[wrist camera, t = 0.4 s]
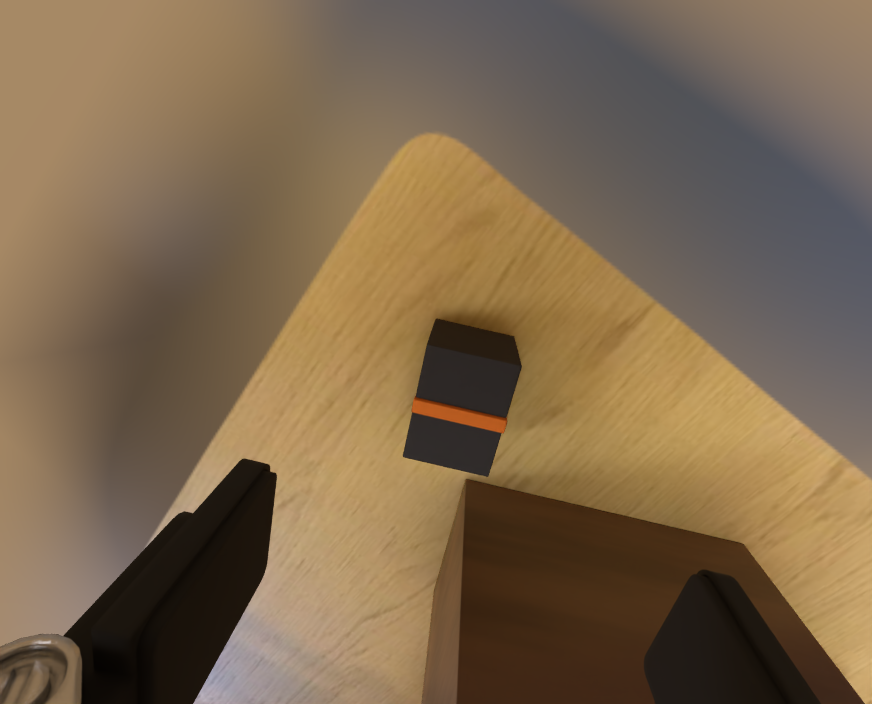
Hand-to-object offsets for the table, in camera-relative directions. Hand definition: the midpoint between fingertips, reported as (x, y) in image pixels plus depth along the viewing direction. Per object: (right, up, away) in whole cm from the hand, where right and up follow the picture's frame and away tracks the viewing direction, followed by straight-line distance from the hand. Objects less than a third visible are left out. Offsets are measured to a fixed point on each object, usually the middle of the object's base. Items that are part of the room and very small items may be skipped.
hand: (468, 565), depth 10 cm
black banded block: (+1, +3, +19) cm, 19 cm away
